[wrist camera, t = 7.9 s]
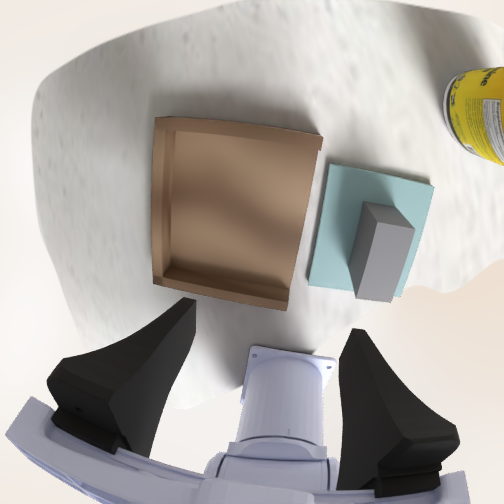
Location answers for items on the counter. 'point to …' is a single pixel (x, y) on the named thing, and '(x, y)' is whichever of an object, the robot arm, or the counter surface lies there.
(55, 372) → the robot arm
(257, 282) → the walnut box
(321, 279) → the cover plate
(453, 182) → the counter surface
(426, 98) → the counter surface
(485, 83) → the pill bottle
